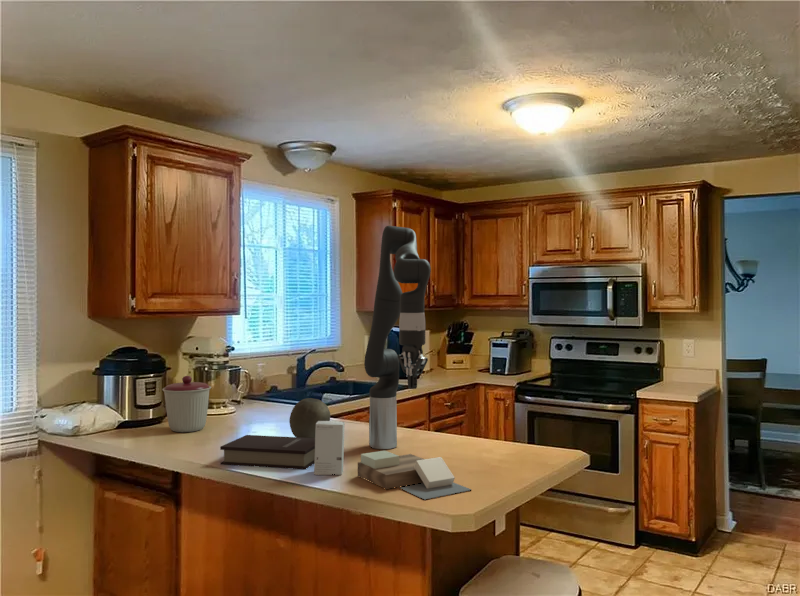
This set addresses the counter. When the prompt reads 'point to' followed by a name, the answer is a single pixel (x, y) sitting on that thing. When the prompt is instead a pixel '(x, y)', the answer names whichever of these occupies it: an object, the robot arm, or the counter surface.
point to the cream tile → (434, 472)
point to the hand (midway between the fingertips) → (412, 388)
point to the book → (270, 452)
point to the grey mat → (434, 490)
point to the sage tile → (379, 459)
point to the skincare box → (329, 448)
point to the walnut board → (392, 473)
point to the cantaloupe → (308, 417)
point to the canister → (187, 405)
